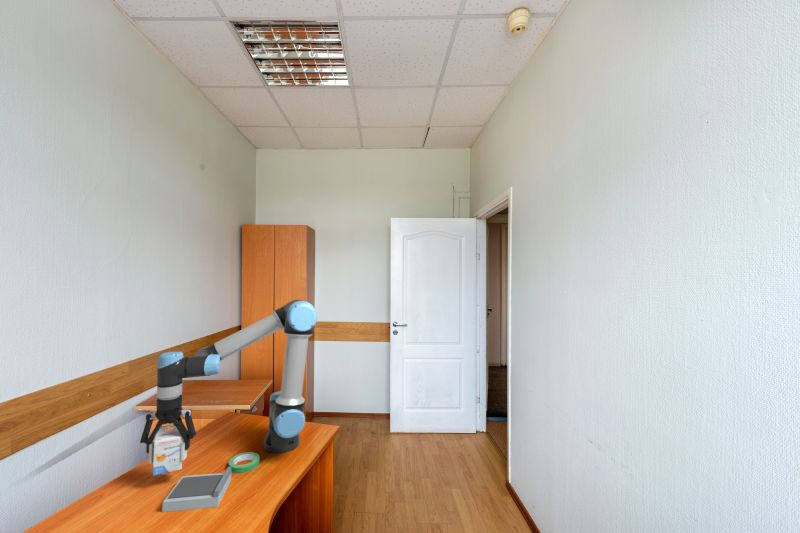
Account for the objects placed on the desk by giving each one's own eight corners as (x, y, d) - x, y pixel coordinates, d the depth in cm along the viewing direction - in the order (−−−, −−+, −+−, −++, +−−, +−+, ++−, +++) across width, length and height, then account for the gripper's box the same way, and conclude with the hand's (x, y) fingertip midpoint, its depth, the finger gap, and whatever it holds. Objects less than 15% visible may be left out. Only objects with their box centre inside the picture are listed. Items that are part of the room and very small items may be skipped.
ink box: (152, 476, 114) (153, 433, 114) (153, 469, 118) (154, 427, 118) (182, 469, 118) (183, 427, 119) (182, 462, 122) (183, 421, 123)
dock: (230, 480, 121) (231, 466, 121) (217, 506, 107) (218, 490, 107) (182, 484, 118) (183, 470, 118) (162, 512, 104) (163, 495, 104)
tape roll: (243, 477, 124) (244, 469, 124) (221, 470, 128) (222, 463, 128) (265, 462, 134) (265, 455, 134) (244, 456, 138) (244, 449, 138)
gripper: (207, 390, 125) (206, 451, 124) (140, 394, 120) (139, 457, 120) (199, 398, 117) (198, 462, 117) (128, 402, 113) (126, 469, 112)
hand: (168, 460), depth 118 cm, fingers closed on ink box, 9 cm apart
